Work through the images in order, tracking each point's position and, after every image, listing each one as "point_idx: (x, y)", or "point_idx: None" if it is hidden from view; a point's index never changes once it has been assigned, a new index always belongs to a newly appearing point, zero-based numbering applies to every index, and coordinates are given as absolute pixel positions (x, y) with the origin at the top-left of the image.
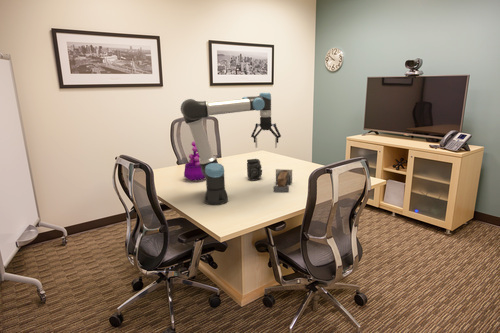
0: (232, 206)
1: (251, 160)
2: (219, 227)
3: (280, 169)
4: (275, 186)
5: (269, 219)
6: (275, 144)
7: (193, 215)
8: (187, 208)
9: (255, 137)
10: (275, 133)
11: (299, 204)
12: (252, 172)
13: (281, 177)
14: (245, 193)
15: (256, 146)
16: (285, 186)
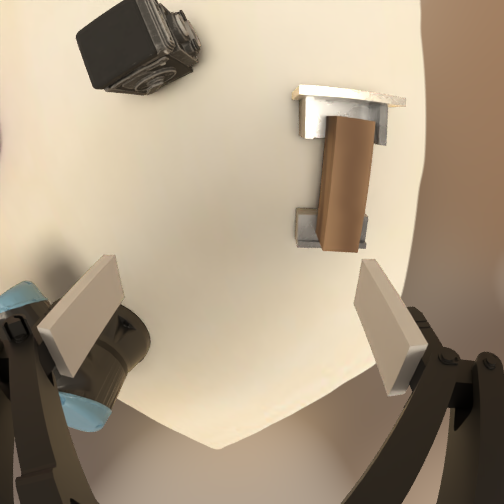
0: (180, 365)
1: (104, 46)
2: (199, 434)
3: (332, 91)
4: (306, 245)
5: (295, 411)
6: (368, 331)
7: (121, 397)
8: None
9: (55, 382)
10: (431, 435)
11: None
12: (145, 86)
13: (344, 231)
14: (178, 265)
15: (118, 306)
16: None
